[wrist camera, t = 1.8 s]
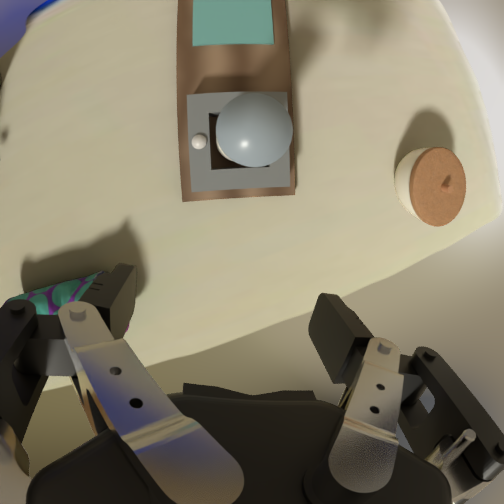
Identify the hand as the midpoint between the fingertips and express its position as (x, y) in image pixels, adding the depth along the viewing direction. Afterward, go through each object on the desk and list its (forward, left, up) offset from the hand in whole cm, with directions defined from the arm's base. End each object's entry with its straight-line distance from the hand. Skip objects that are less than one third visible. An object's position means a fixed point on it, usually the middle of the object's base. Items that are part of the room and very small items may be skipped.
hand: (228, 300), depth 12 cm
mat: (+3, +26, -25) cm, 36 cm away
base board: (+3, +16, -26) cm, 31 cm away
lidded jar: (+29, +3, -26) cm, 39 cm away
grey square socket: (+3, +8, -25) cm, 26 cm away
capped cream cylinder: (+3, +8, -25) cm, 26 cm away
